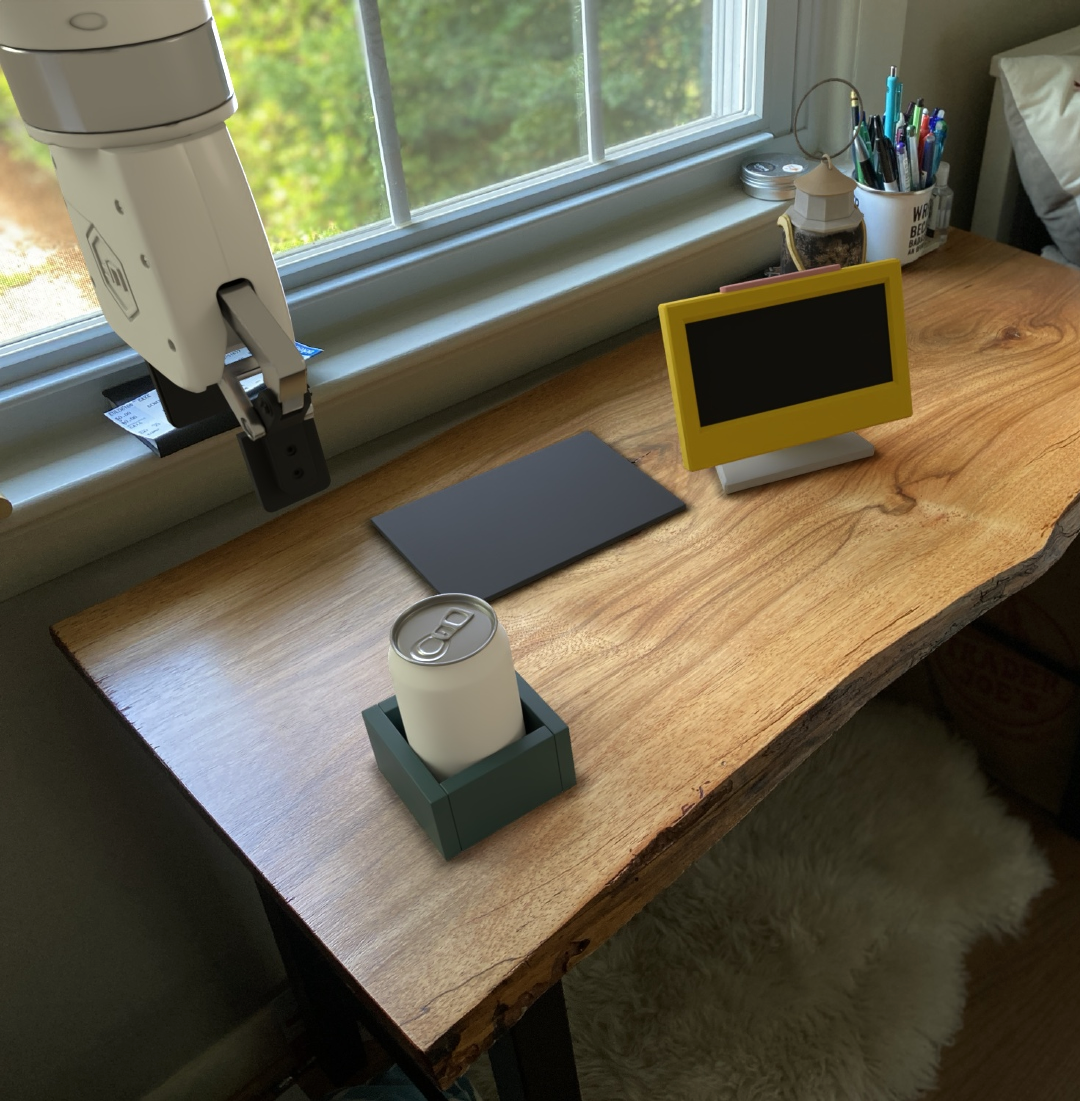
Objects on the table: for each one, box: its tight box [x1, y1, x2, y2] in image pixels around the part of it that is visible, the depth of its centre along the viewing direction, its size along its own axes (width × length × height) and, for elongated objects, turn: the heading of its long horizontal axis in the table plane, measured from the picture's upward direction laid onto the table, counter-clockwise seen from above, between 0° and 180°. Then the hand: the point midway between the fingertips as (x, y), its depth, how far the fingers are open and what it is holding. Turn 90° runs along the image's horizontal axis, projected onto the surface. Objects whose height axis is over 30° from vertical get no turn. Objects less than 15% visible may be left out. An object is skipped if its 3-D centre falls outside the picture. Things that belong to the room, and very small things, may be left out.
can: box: [387, 594, 526, 785], centre depth 62 cm, size 6×6×12 cm
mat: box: [370, 430, 687, 604], centre depth 86 cm, size 20×14×1 cm
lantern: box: [776, 77, 868, 275], centre depth 100 cm, size 9×8×25 cm
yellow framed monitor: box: [657, 258, 914, 495], centre depth 88 cm, size 20×8×16 cm, turn 114°
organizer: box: [361, 669, 578, 862], centre depth 64 cm, size 9×9×5 cm
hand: (248, 455), depth 53 cm, fingers open, 9 cm apart
